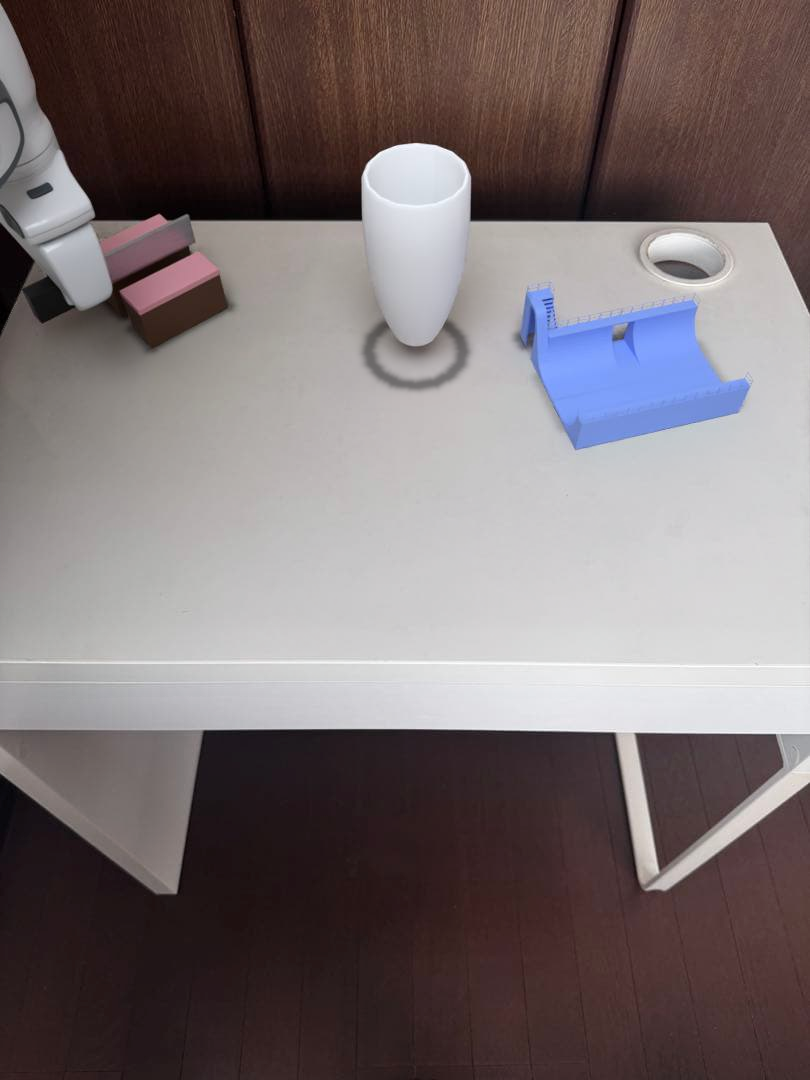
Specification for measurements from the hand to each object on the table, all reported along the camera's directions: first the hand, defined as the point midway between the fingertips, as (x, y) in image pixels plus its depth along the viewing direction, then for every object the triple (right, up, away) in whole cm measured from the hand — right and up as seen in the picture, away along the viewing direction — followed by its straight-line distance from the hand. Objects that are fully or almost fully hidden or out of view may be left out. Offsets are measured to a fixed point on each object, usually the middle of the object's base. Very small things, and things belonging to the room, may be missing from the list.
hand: (66, 291), depth 90 cm
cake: (+5, +4, +11) cm, 13 cm away
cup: (+36, -5, +5) cm, 37 cm away
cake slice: (+10, -1, +8) cm, 13 cm away
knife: (+4, +2, +3) cm, 6 cm away
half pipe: (+58, -8, +3) cm, 59 cm away
